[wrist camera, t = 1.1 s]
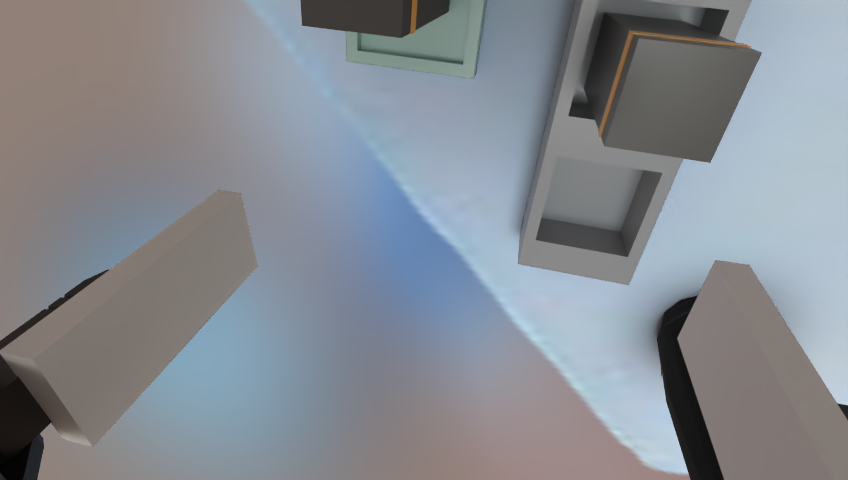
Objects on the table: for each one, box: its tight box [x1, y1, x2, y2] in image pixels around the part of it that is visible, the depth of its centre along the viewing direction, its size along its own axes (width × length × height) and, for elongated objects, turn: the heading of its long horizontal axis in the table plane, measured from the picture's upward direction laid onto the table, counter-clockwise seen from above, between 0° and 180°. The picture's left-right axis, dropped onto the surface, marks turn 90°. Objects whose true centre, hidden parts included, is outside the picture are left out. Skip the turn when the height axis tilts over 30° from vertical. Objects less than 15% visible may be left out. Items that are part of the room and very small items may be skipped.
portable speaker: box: [657, 296, 724, 480], centre depth 30 cm, size 9×9×20 cm
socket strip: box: [518, 0, 761, 285], centre depth 26 cm, size 20×8×12 cm, turn 175°
